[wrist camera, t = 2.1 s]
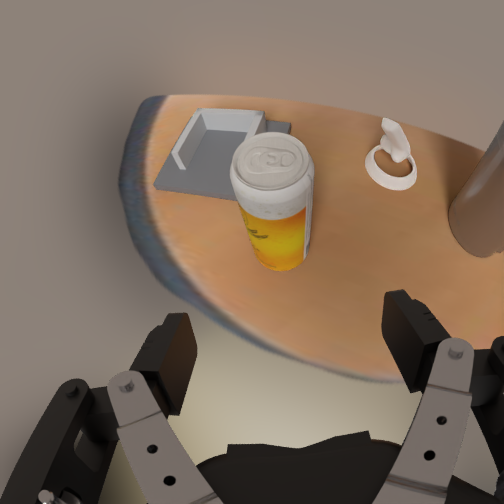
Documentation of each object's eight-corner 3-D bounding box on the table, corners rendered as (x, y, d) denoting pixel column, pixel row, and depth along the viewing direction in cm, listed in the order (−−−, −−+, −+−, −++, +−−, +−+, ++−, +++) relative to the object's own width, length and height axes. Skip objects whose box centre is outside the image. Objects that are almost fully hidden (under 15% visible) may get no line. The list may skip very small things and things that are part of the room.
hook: (332, 156, 31) (355, 104, 29) (364, 180, 40) (382, 140, 38) (391, 182, 27) (415, 124, 25) (408, 202, 36) (426, 159, 34)
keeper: (290, 128, 40) (289, 104, 36) (267, 206, 35) (263, 182, 31) (193, 121, 44) (185, 100, 40) (156, 189, 39) (142, 169, 35)
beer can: (258, 222, 35) (234, 128, 21) (310, 225, 33) (315, 129, 20) (251, 271, 32) (218, 192, 19) (306, 275, 31) (314, 196, 18)
